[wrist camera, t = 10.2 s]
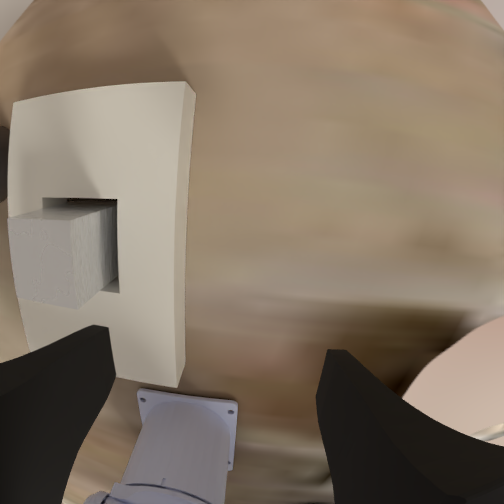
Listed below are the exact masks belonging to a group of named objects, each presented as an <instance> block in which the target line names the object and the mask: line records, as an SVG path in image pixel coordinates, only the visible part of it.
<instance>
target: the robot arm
mask: <svg viewBox="0 0 504 504" xmlns="http://www.w3.org/2000/svg"><path fill="white" fill-rule="evenodd" d="M115 377H116V370H115V365H114V359H113V353H112V347H111V340H110V333H109V327H104V326H99V325H94V324H93V325H90V326H88V327H85V328H83V329H81V330H78V331H76V332H74V333H72V334H70V335H68V336H66V337H64V338H61V339H59V340H57V341H55V342H53V343H51V344H49V345H47V346H44V347H42V348H40V349H37V350H35V351H33V352H30V353H28V354H26V355H23V356H21V357H18V358H15V359H13V360H10V361H6V362H3V363H0V504H61V503H62V499H63V495H64V491H65V488H66V485H67V481H68V478H69V475H70V472H71V469H72V466H73V464H74V461H75V458H76V456H77V453H78V451H79V449H80V447H81V445H82V443H83V441H84V439H85V437H86V435H87V434H88V432H89V430H90V428H91V426H92V425H93V423H94V421H95V419H96V418H97V416H98V414H99V412H100V411H101V409H102V407H103V405H104V403H105V402H106V400H107V398H108V395H109V393H110V391H111V388H112V385H113V383H114V380H115ZM143 398H145V399H143ZM137 399H138V404H139V410H140V416H141V421H142V426H143V427H142V429H141V431H140V434H139V436H138V439H137V442H136V444H135V447H134V449H133V452H132V454H131V457H130V459H129V462H128V464H127V467H126V470H125V472H124V475H123V477H122V480H121V483H117V482H115V483H114V485H113V487H112V490H111V493H110V494H109V493H107V492H104V491H99V492H97V493H95V494H93V495H90V496H89V497H88V498H87V499H86V500H85V502H84V503H83V504H224V503H225V492H226V481H227V471H231V470H232V469H233V461H234V449H235V436H236V424H237V412H238V404H237V402H235V401H232V400H223V399H213V398H204V397H196V396H188V395H181V394H174V393H168V392H161V391H155V390H150V389H144V388H140V389H139V390H138V391H137ZM316 405H317V415H318V423H319V427H320V431H321V435H322V440H323V444H324V448H325V452H326V456H327V460H328V464H329V468H330V473H331V477H332V483H333V491H334V501H335V504H504V447H503V446H499V445H495V444H491V443H488V442H485V441H482V440H479V439H476V438H473V437H470V436H468V435H465V434H463V433H460V432H458V431H456V430H454V429H451V428H449V427H447V426H445V425H443V424H441V423H439V422H438V421H435V420H433V419H432V418H430V417H429V416H427V415H425V414H424V413H422V412H421V411H419V410H417V409H416V408H414V407H413V406H411V405H410V404H409V403H407V402H406V401H405V400H403V399H402V398H401V397H399V396H398V395H397V394H395V393H394V392H393V391H392V390H390V389H389V388H388V387H387V386H386V385H384V384H383V383H382V382H381V381H380V380H379V379H377V378H376V377H375V376H374V375H373V374H372V373H371V372H370V371H369V370H367V369H366V368H365V367H364V366H363V365H362V364H361V363H360V362H359V361H358V360H357V359H356V358H354V357H353V356H352V355H351V354H350V353H349V352H348V351H346V350H331V349H327V354H326V358H325V362H324V366H323V370H322V374H321V378H320V382H319V386H318V390H317V394H316ZM229 410H233V411H229Z"/></svg>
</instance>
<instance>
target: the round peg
mask: <svg viewBox="0 0 504 504" xmlns="http://www.w3.org/2000/svg"><path fill="white" fill-rule="evenodd" d="M9 139H10V130H9V129H8V128H6V127H4V126H0V203H1V202H2V201H4V200H5V199H6V198H7V197H8V154H9Z"/></svg>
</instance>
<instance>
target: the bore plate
mask: <svg viewBox="0 0 504 504" xmlns="http://www.w3.org/2000/svg"><path fill="white" fill-rule="evenodd" d="M195 102H196V93H195V92H194V91H193V90H192V88H191V87H190V86H189V85H188V84H187V82H186V81H178V82H150V83H135V84H122V85H112V86H103V87H94V88H87V89H80V90H73V91H67V92H61V93H56V94H50V95H45V96H40V97H35V98H31V99H26V100H22V101H18V102H14V103H13V111H12V119H11V128H10V139H9V154H8V218H10V217H13V216H17V215H21V214H24V213H28V212H32V211H35V210H39V209H43V208H47V207H51V206H55V205H59V204H63V203H67V198H100V199H118V200H117V241H118V271H119V275H118V276H117V277H115V278H114V279H113V280H112V281H111V282H109V283H108V284H107V285H106V286H105V287H104V288H102V289H101V290H100V291H99V292H98V293H97V294H95V295H94V296H93V297H92V298H91V299H90V300H88V301H87V302H86V303H85V304H84V305H83V306H82V307H80V308H79V309H78V310H77V309H71V308H66V307H61V306H55V305H50V304H45V303H40V302H36V301H31V300H26V299H22V298H18V302H19V307H20V312H21V317H22V321H23V326H24V330H25V334H26V338H27V342H28V346H29V350H30V352H33V351H35V350H37V349H40V348H42V347H44V346H47V345H49V344H51V343H53V342H55V341H57V340H59V339H61V338H64V337H66V336H68V335H70V334H72V333H74V332H76V331H78V330H81V329H83V328H85V327H88V326H90V325H93V324H94V325H99V326H104V327H109V333H110V340H111V347H112V353H113V359H114V365H115V370H116V377H118V378H123V379H128V380H133V381H138V382H144V383H149V384H155V385H161V386H167V387H174V388H177V387H178V384H179V381H180V378H181V375H182V372H183V369H184V366H185V363H186V354H185V263H186V230H187V207H188V189H189V173H190V158H191V145H192V133H193V122H194V112H195Z"/></svg>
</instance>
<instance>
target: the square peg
mask: <svg viewBox="0 0 504 504" xmlns="http://www.w3.org/2000/svg"><path fill="white" fill-rule="evenodd" d="M7 221H8V234H9V245H10V254H11V262H12V270H13V277H14V283H15V289H16V294H17V298H22V299H26V300H31V301H36V302H40V303H45V304H50V305H55V306H61V307H66V308H71V309H77V310H78V309H79V308H80V307H82V306H83V305H84V304H85V303H86V302H87V301H88V300H90V299H91V298H92V297H93V296H94V295H95V294H97V293H98V292H99V291H100V290H101V289H102V288H104V287H105V286H106V285H107V284H108V283H109V282H111V281H112V280H113V279H114V278H115V277H117V276H118V275H119V271H118V241H117V202H111V201H71V202H67V203H63V204H59V205H55V206H51V207H47V208H43V209H39V210H35V211H32V212H28V213H24V214H21V215H17V216H13V217H10V218H7Z"/></svg>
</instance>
